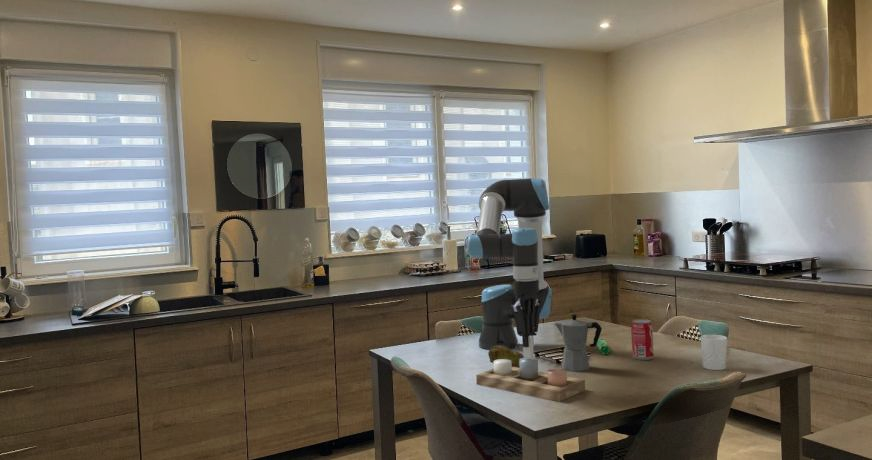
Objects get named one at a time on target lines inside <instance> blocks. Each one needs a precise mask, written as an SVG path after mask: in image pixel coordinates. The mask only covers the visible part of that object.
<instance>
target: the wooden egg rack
mask: <svg viewBox="0 0 872 460" xmlns="http://www.w3.org/2000/svg"><path fill="white" fill-rule="evenodd" d="M475 379H476V381H475V382H476V385H478V386H483V387H488V388H494V389H498V390H502V391H507V392H512V393H516V394H521V395H525V396H526V395H527V396H530V397H535V398H540V399H544V400H550V401H554V402H559V403H560V402H562V401H564V400H566V399H569V398H570V397H572V396H575V395H577V394H579V393H582V392H584V391H586V379H583V378H578V377H577V378H576V377H571V376H567V385H566V386H563V387H556V386H551V385H548V374H547V372H545V371H544V372H543V371H540V370H538V377H536V378H522V377H520V368H517V367H512V374H510V375H507V376H500V375H495V374H494V368H491V369H488V370H485V371H483V372H479V373H477V374H476V375H475Z"/></svg>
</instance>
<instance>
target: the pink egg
mask: <svg viewBox="0 0 872 460" xmlns="http://www.w3.org/2000/svg"><path fill="white" fill-rule="evenodd" d="M546 373H547V374H548V385H551V386H556V387H563V386H566V385H567V377H568V372H567V370H564V369H563V368H550V369H548V370H547V371H546Z"/></svg>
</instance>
